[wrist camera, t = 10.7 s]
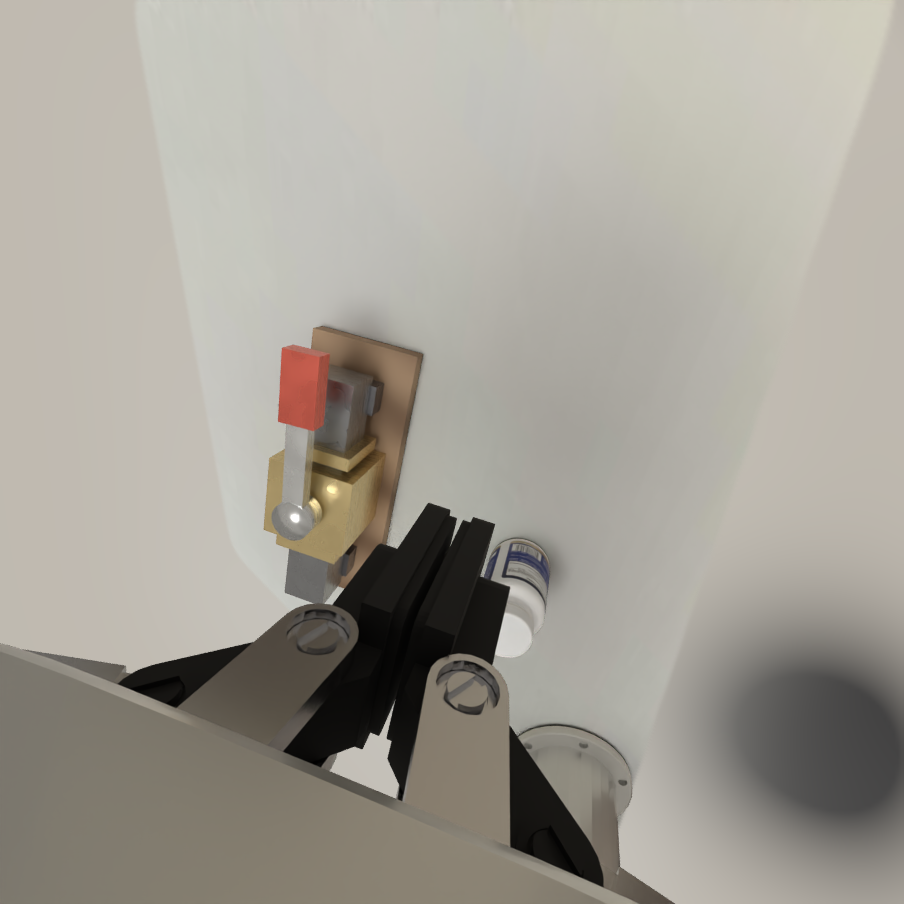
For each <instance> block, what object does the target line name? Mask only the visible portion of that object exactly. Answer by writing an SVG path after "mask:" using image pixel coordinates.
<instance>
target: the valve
mask: <svg viewBox="0 0 904 904" xmlns="http://www.w3.org/2000/svg"><path fill="white" fill-rule="evenodd" d="M383 389H384V383H383V382H379V381H376V380H373V376H370V375H367V374H363V373H360V372H356V371H353V370H349V369H346V368H342V367H339V366H335V365H332V364H331V365H329V370H328V381H327V392H326V403H325V415H324V425H323V426H321V427H320V428H318V429H316V430H315V436H314V448H313V460H312V473H311V485H310V495H311V496H313V497H314V498H315V499H316V500H317V501H318V503H319V504H320V506H321V509H322V519H321V521H320V523H319V524H318V525H317V526H316V527H315V528H314V529H312V530H311V531H310V532H309V533H308V534H307V535H306V536H305V537H304V538H303V539H301V540H297V541H293V540H288V539H286V538H284V537H282V536H281V535H280V534H279V533H278V532H277V531H276V530H275V528H274V526H273V524H272V519H271V516H272V512H273V510H274V508H275V507H276V506H278V505H279V504H280V503H281V502H282V490H283V473H284V456H285V449H284V450H282V451H280V452H279V453H277V454H275V455H274V456H272V457H271V458H269V470H268V482H267V494H266V507H265V519H264V530H266V531H269V532H272V533H274V534H277V539H276V544H277V545H280V546H283V547H286V548H289V557H288V566H287V575H286V585H285V593H287V594H290V595H293V596H295V597H298V598H301V599H304V600H306V601H309V602H312V603H315V604H316V603H322V604H324V603H325V602H326V601H327V599H328V598H329V597H330V596H331V594H332V593H333V592H334V590H335V589H336V588H337V587H338V585H339V584H340V583H341V577H342V576H344V577H346V576H347V575H348V573H349V572H350V571H351V570H352V568H353V567H354V561H355V555H356V549H357V546H355V545H352V544H353V543H354V541H355V540H356V539H357V538H358V537H359V535H360V534H361V533H362V532H363V531H364V530H365V528H366V527H367V526H368V525H369V524H370V522H371V521H372V520H373V519H374V518H375V513H376V508H377V502H378V497H379V491H380V486H381V480H382V475H383V469H384V464H385V458H386V453H382V452H379V451H376V450H374V449H375V443H376V438H374V437H370V436H367V435H364V433H365V426H366V420H367V415H370V416H373V415H374V414H376V413H377V412H379V411H380V407H381V401H382V395H383Z"/></svg>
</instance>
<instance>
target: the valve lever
mask: <svg viewBox="0 0 904 904" xmlns="http://www.w3.org/2000/svg"><path fill="white" fill-rule="evenodd" d="M329 358H330V354H329V353H325V352H321V351H317V350H313V349H309V348H305V347H301V346H297V345H291V346H287V347H283V348H282V356H281V376H280V395H279V414H278V422H281V423H285V424H286V439H285V456H284V473H283V490H282V502H281V503H280V504H279V505H278V506H276V507H275V508H274V510H273V512H272V516H271V519H272V524H273V526H274V528H275V530H276V531H277V532H278V533H279V534H280V535H281V536H282V537H284V538H286V539H288V540H293V541H297V540H301V539H303V538H304V537H305V536H306V535H307V534H308V533H309V532H310V531H311V530H312V529H314V528H315V527H316V526H317V525H318V524H319V523H320V521H321V519H322V509H321V506H320V504H319V503H318V501H317V500H316V499H315V498H314V497H313V496H311V495H310V485H311V473H312V460H313V448H314V436H315V430H316V429H318V428H320V427H321V426H323V425H324V415H325V403H326V392H327V381H328V370H329Z"/></svg>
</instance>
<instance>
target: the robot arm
mask: <svg viewBox="0 0 904 904" xmlns="http://www.w3.org/2000/svg"><path fill="white" fill-rule="evenodd" d="M456 520H457V518H455V517H452V516H450V510H449V509H446V508H443V507H440V506H437V505H434V504H430V503H428V504H427V506H426V507H425V508H424V510H423V511H422V513H421V514H420V516H419V517H418V519H417V520H416V522H415V523H414V525H413V526H412V528H411V529H410V531H409V532H408V534H407V535H406V537H405V538H404V540H403V541H402V543H401V544H400V546H399V547H398V549H396V548H393V547H390V546H387V545H384V544H382V543H380V544H378V545H377V546H376V547H375V549H374V550H373V551H372V553H371V554H370V555H369V557H368V558H367V559H366V561H365V562H364V563H363V565H362V566H361V567H360V569H359V570H358V571H357V573H356V574H355V575H354V577H353V578H352V579H351V581H350V582H349V583H348V585H347V586H346V587H345V589H344V590H343V591H342V593H341V594H340V595H339V597H338V598H337V599H336V601H335V602H334V603H333V605H330V604H322V603H316V604H307V605H304V606H301V607H298V608H295V609H294V610H292V611H291V612H289V613H287V614H286V615H285V616H284V617H282V618H281V619H280V620H279V621H278V622H277V623H275V624H274V625H273V626H272V627H271V628H270V629H268V630H267V631H266V632H265V633H264V634H263V635H261V636H260V637H259V638H258V639H257V640H256V641H254V642H252V643H248V644H243V645H239V646H234V647H230V648H225V649H221V650H217V651H213V652H208V653H203V654H199V655H194V656H190V657H186V658H181V659H177V660H172V661H168V662H164V663H159V664H155V665H151V666H148V667H146V668H142V669H140V670H138V671H135V672H134V673H132V674H130V673H126V666H124V665H118V664H111V663H104V662H98V661H92V660H86V659H80V658H73V657H67V656H61V655H54V654H48V653H42V652H35V651H29V650H23V649H19V648H16V647H13V646H9V645H5V644H1V643H0V904H675V903H673V902H672V901H670V900H668V899H667V898H666V897H664V896H663V895H661V894H660V893H658V892H657V891H655V890H654V889H652V888H651V887H649V886H648V885H646V884H645V883H643V882H642V881H640V880H639V879H637V878H636V877H634V876H633V875H631V874H630V873H628V872H627V871H625V870H624V869H622V868H621V867H620V858H619V857H620V856H619V838H618V821H617V817H618V816H619V815H621V814H622V813H623V812H624V811H625V809H626V808H627V807H628V805H629V803H630V800H631V798H632V780H631V774H630V771H629V768H628V766H627V764H626V763H625V761H624V759H623V758H622V757H621V756H620V754H619V753H618V752H617V751H616V750H615V749H614V748H613V747H611V746H610V745H609V744H608V743H606V742H605V741H603V740H602V739H600V738H598V737H597V736H595V735H592V734H590V733H588V732H585V731H583V730H579V729H575V728H571V727H564V726H545V727H540V728H535V729H532V730H530V731H527V732H525V733H523V734H522V735H520V736H519V737H517V735H516V734H515V733H514V731H513V730H512V728H511V727H510V725H509V693H508V688H507V684H506V683H505V681H504V679H503V677H502V675H501V674H500V673H499V672H498V671H497V670H496V669H495V668H494V667H493V666H492V664H493V660H494V656H495V652H496V647H497V643H498V639H499V635H500V630H501V626H502V622H503V618H504V613H505V609H506V605H507V600H508V596H509V592H510V586H507V585H504V584H501V583H498V582H495V581H492V580H489V579H486V578H483V577H480V575H481V572H482V569H483V565H484V562H485V558H486V555H487V551H488V548H489V544H490V541H491V537H492V534H493V530H494V527H495V524H493V523H490V522H487V521H484V520H481V519H478V518H475V517H473V519H472V521H471V522H467V521H464V520H463V521H462V523H461V525H460V527H459V530H458V532H457V534H456V536H455V538H454V540H453V542H452V544H451V541H452V537H453V533H454V529H455V525H456ZM450 545H451V546H450ZM395 699H396V700H395ZM394 702H395V704H394ZM393 704H394V708H393V713H392V717H391V721H390V725H389V730H388V734H387V739H388V740H391V741H392V742H391V746H390V750H389V754H388V761H389V763H390V766H391V768H392V770H393V772H394V774H395V777H396V779H397V781H398V783H399V787H398V791H397V795H396V799H395V798H393V797H390V796H388V795H385V794H383V793H381V792H378V791H376V790H373V789H371V788H368V787H366V786H364V785H361V784H359V783H357V782H354V781H351V780H349V779H347V778H344V777H342V776H340V775H337V774H335V773H332V772H330V769H331V768H332V765H333V764H334V762H335V760H336V756H337V753H338V752H341V751H344V750H346V749H349V748H352V747H357V748H360V749H363V747H364V745H365V743H366V741H367V738H368V736H369V734H370V733H373V734H375V735H378V736H379V735H380V733H381V731H382V729H383V726H384V724H385V722H386V720H387V717H388V715H389V713H390V711H391V708H392V706H393Z"/></svg>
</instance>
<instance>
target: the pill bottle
mask: <svg viewBox="0 0 904 904" xmlns="http://www.w3.org/2000/svg"><path fill="white" fill-rule="evenodd" d="M549 575H550V564H549V560H548V558H547V556H546V554H545V552H544V551H543V550H542V549H541V548H540V547H539V546H538V545H536V544H535V543H533V542H531V541H528V540H524V539H510V540H507V541H504V542H502V543H501V544H499V545H498V546H497V547H496V548H495V549H494V551H493V552H492V554H491V556H490V559H489V562H488V565H487V568H486V572H485V575H484V578H486V579H489V580H492V581H495V582H498V583H501V584H504V585H507V586H510V592H509V596H508V600H507V605H506V609H505V613H504V618H503V622H502V626H501V630H500V635H499V639H498V643H497V647H496V652H495V655H498V656H501V657H506V658H512V657H518V656H520V655H522V654H524V653H525V652H526V651H527V650H528V649H529V648H530V646H531V644H532V640H533V635H535V634H536V633H537V632H538V631H539V630H540V628H541V627H542V625H543V622H544V619H545V613H546V604H547V593H548V584H549Z"/></svg>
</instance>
